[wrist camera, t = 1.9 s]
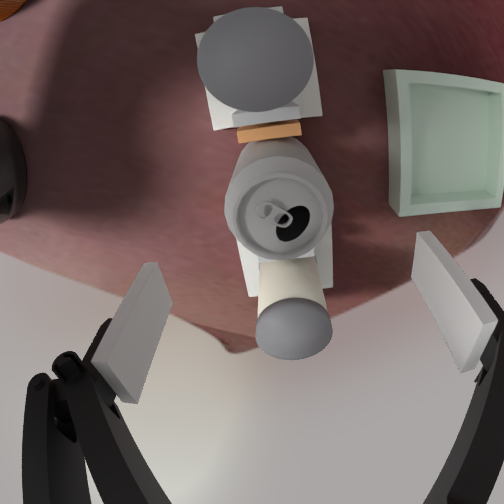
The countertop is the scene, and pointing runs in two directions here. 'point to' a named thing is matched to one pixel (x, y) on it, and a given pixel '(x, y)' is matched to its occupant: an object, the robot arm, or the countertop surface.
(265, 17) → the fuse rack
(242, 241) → the can
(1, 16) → the coil
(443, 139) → the tray
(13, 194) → the robot arm
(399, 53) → the countertop surface
